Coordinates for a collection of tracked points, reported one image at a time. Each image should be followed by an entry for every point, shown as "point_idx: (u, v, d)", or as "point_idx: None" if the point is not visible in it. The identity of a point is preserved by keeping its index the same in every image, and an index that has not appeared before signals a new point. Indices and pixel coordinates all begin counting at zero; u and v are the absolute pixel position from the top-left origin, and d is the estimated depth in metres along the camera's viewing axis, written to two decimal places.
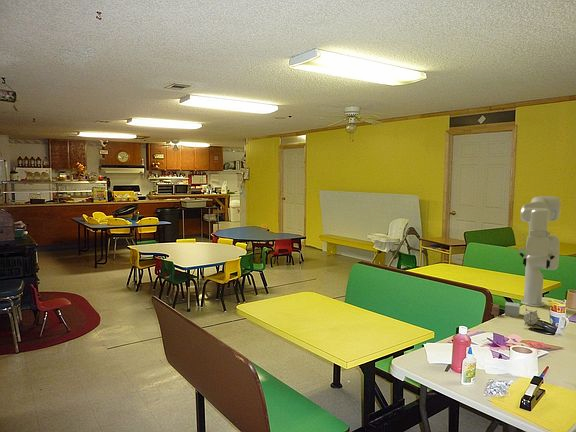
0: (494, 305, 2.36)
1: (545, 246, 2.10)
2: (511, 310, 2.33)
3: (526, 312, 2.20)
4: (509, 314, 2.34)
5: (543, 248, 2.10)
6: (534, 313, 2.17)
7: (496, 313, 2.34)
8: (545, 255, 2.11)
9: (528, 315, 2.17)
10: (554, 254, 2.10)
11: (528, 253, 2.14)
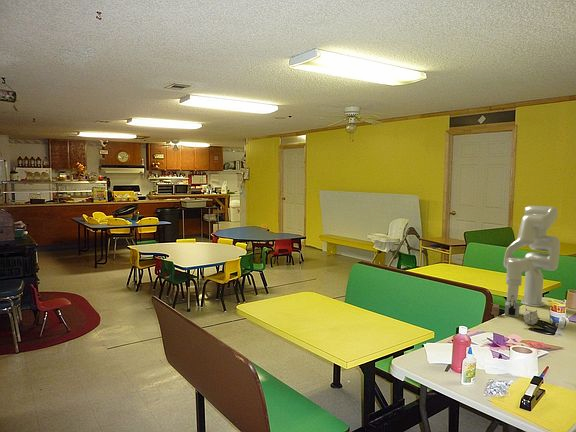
0: (494, 305, 2.36)
1: None
2: None
3: (526, 312, 2.20)
4: None
5: None
6: (534, 313, 2.17)
7: (496, 313, 2.34)
8: None
9: (528, 315, 2.17)
10: None
11: (516, 301, 2.31)
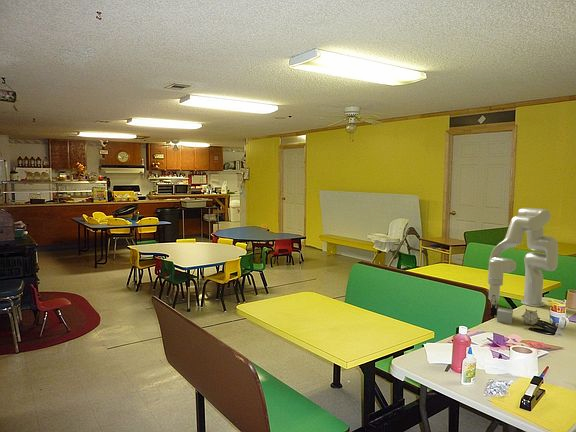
0: None
1: None
2: (503, 316, 2.23)
3: (526, 312, 2.20)
4: (501, 320, 2.23)
5: None
6: (534, 313, 2.17)
7: None
8: None
9: (528, 315, 2.17)
10: None
11: (497, 301, 2.32)
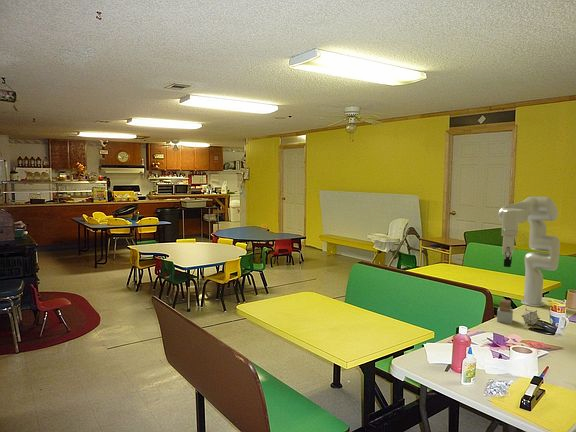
0: (505, 301, 2.24)
1: None
2: (503, 316, 2.23)
3: (526, 312, 2.20)
4: (501, 320, 2.23)
5: None
6: (534, 313, 2.17)
7: (508, 309, 2.22)
8: None
9: (528, 315, 2.17)
10: None
11: (512, 253, 2.18)
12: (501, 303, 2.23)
